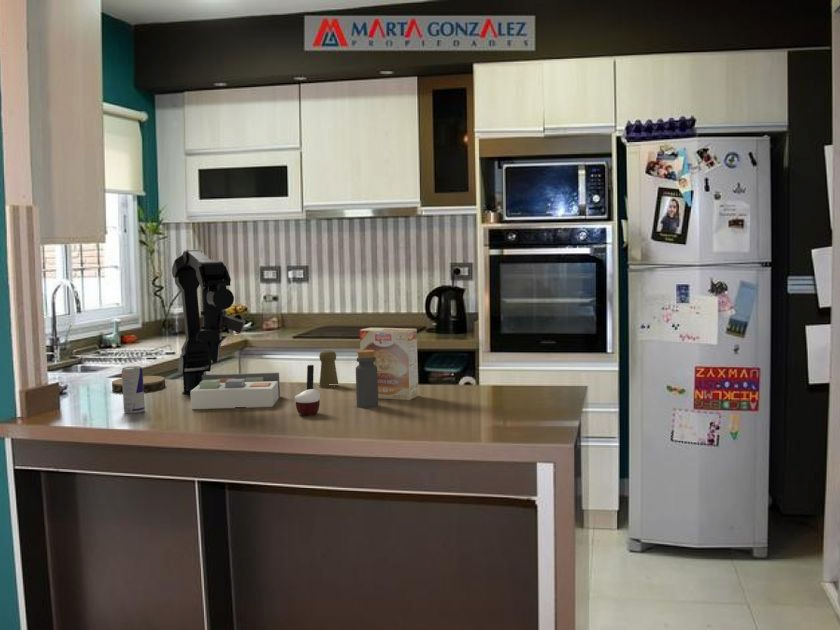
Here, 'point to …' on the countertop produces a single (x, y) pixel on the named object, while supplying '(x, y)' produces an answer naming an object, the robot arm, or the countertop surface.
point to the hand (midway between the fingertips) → (215, 362)
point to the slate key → (235, 383)
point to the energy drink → (133, 389)
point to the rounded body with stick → (308, 396)
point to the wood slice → (148, 382)
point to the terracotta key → (260, 385)
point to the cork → (328, 369)
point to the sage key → (210, 384)
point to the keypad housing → (237, 392)
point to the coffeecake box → (393, 360)
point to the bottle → (366, 380)
